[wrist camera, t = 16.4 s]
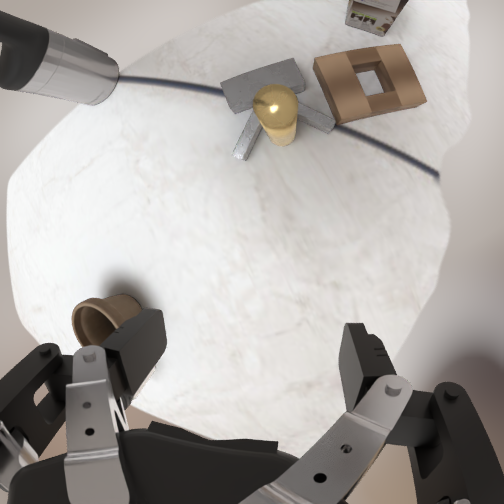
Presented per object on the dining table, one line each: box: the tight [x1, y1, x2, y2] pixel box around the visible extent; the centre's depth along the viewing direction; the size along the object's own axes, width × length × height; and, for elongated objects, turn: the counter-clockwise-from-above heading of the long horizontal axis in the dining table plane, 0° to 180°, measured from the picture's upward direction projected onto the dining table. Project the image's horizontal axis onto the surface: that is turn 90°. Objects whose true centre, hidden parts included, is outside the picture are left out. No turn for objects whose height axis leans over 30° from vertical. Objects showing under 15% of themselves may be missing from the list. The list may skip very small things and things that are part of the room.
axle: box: [253, 84, 298, 146], centre depth 27 cm, size 4×4×16 cm
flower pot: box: [72, 294, 142, 347], centre depth 41 cm, size 12×11×10 cm
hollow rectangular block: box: [313, 44, 427, 125], centre depth 29 cm, size 9×13×4 cm
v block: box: [220, 58, 336, 161], centre depth 33 cm, size 11×14×4 cm
